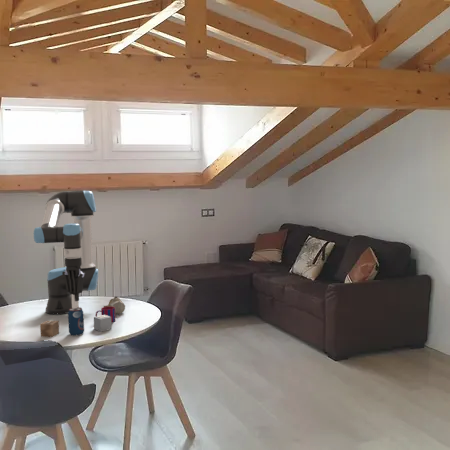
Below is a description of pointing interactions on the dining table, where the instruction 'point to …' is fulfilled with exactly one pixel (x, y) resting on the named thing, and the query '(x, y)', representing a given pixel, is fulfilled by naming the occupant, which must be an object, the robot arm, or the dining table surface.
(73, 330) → the soda can
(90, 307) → the dining table surface
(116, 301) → the ceramic sculpture
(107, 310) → the mug
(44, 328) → the walnut numbered block
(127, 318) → the dining table surface
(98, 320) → the slate numbered block
